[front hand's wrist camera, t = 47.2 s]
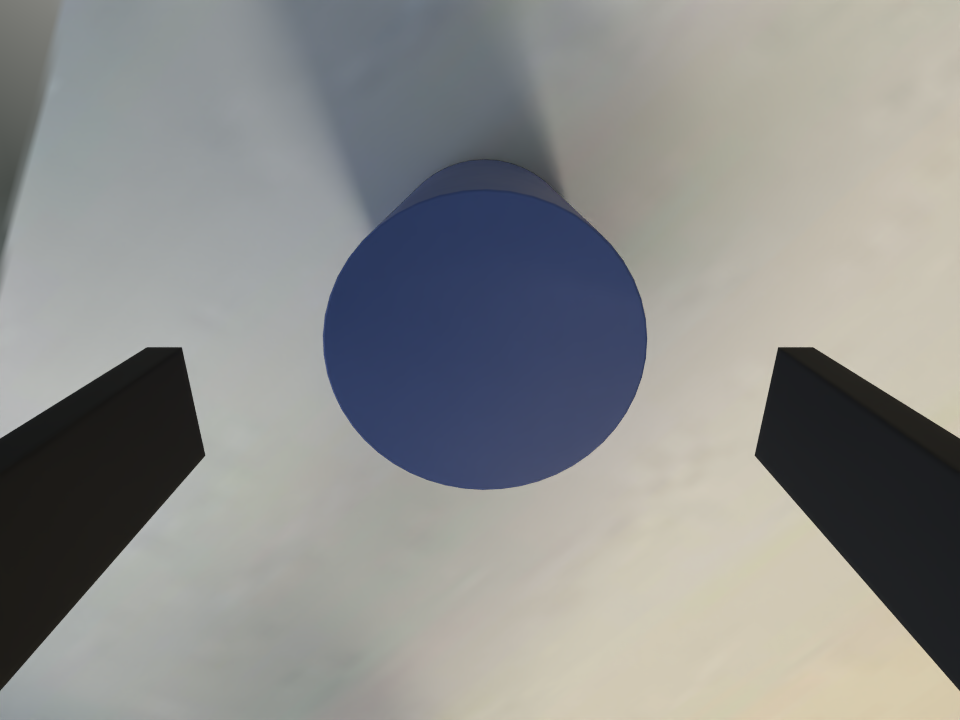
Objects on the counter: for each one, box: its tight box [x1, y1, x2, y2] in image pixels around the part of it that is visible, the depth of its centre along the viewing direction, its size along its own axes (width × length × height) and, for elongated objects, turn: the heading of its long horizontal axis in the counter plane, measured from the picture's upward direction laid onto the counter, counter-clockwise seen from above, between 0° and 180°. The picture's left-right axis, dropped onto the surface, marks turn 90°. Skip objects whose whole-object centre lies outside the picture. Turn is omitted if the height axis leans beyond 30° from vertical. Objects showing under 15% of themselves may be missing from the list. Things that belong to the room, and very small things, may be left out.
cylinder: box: [323, 160, 647, 490], centre depth 18 cm, size 8×8×11 cm
